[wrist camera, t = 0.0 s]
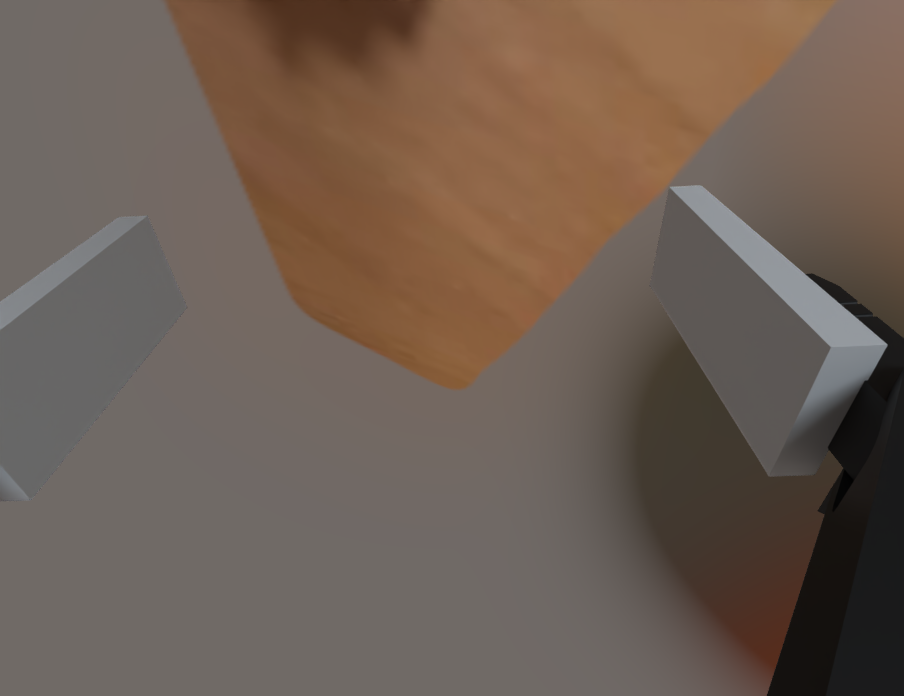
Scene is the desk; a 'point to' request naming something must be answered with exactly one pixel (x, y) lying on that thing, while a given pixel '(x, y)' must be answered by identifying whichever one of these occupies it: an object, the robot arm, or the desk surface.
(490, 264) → the desk surface
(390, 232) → the desk surface
